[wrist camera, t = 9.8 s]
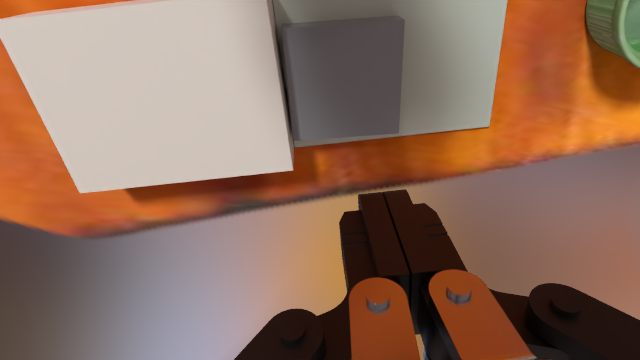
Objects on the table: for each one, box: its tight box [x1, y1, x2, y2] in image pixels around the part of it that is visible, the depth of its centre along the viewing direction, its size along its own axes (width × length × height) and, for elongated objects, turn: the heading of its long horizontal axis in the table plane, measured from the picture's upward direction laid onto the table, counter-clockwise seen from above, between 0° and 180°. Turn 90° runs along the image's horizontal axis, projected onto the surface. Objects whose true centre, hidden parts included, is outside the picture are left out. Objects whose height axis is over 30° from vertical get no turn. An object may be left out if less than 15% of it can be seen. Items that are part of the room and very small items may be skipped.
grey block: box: [282, 16, 405, 141], centre depth 27 cm, size 8×8×2 cm
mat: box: [273, 0, 507, 147], centre depth 28 cm, size 16×12×1 cm
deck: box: [0, 0, 294, 193], centre depth 26 cm, size 16×12×4 cm
